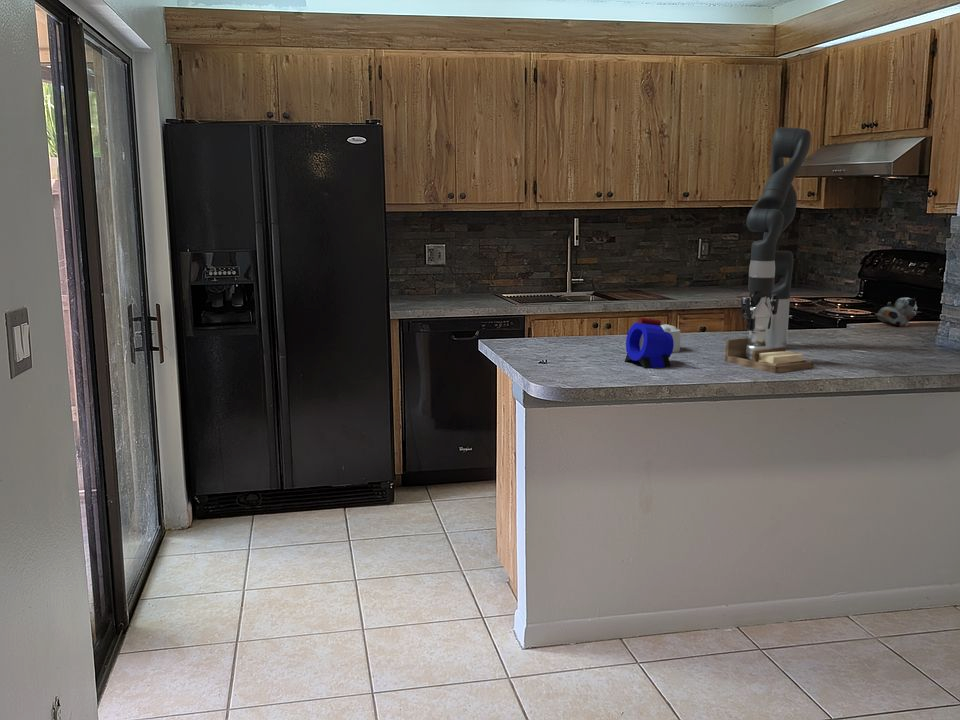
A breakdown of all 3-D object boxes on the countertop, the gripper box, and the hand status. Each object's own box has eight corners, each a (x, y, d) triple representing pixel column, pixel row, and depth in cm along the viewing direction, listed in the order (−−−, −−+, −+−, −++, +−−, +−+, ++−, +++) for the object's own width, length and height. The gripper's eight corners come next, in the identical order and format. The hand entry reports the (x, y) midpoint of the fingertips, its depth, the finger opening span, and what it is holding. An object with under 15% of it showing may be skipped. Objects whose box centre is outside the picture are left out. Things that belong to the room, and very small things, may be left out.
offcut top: (758, 359, 265) (758, 353, 265) (787, 357, 270) (787, 350, 269) (773, 363, 259) (773, 357, 259) (802, 360, 264) (803, 354, 263)
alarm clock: (622, 361, 279) (624, 315, 276) (656, 359, 283) (657, 313, 281) (642, 369, 268) (644, 320, 265) (677, 366, 272) (679, 318, 269)
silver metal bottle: (740, 359, 274) (744, 295, 270) (757, 357, 277) (761, 294, 273) (754, 363, 269) (758, 297, 265) (772, 361, 271) (776, 296, 267)
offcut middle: (758, 366, 265) (758, 360, 264) (782, 363, 270) (783, 356, 270) (775, 370, 259) (775, 364, 259) (800, 366, 265) (800, 360, 264)
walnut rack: (724, 365, 274) (726, 339, 272) (761, 360, 281) (763, 335, 280) (774, 377, 256) (776, 350, 255) (812, 371, 264) (814, 345, 263)
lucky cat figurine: (879, 321, 364) (899, 292, 361) (906, 335, 357) (927, 306, 354) (870, 314, 352) (891, 284, 349) (897, 329, 345) (918, 299, 342)
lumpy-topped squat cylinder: (683, 351, 296) (684, 326, 294) (649, 354, 292) (650, 328, 290) (667, 346, 306) (668, 322, 304) (633, 348, 302) (634, 323, 300)
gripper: (769, 272, 274) (765, 326, 278) (735, 275, 267) (732, 329, 271) (788, 275, 268) (784, 329, 271) (753, 277, 261) (750, 333, 264)
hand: (758, 329), depth 271 cm, fingers closed on silver metal bottle, 6 cm apart
